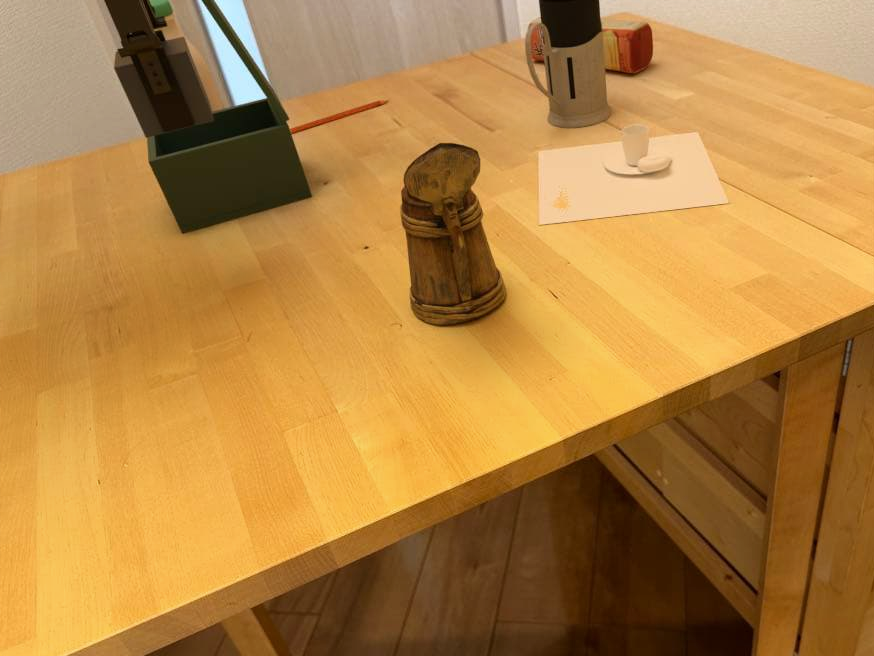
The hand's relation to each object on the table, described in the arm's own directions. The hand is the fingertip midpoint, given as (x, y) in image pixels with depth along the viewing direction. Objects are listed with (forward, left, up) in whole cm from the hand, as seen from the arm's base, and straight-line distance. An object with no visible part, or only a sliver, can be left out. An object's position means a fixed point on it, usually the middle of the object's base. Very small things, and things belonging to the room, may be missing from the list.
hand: (177, 116), depth 70 cm
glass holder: (+25, +41, -17) cm, 51 cm away
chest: (-12, +18, -17) cm, 27 cm away
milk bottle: (-26, +31, -17) cm, 44 cm away
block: (0, 0, 0) cm, 0 cm away
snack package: (+22, +65, -17) cm, 70 cm away
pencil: (-12, +44, -17) cm, 48 cm away
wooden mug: (+27, -4, -17) cm, 32 cm away
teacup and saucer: (+36, +25, -17) cm, 47 cm away
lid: (-8, +21, +1) cm, 23 cm away
